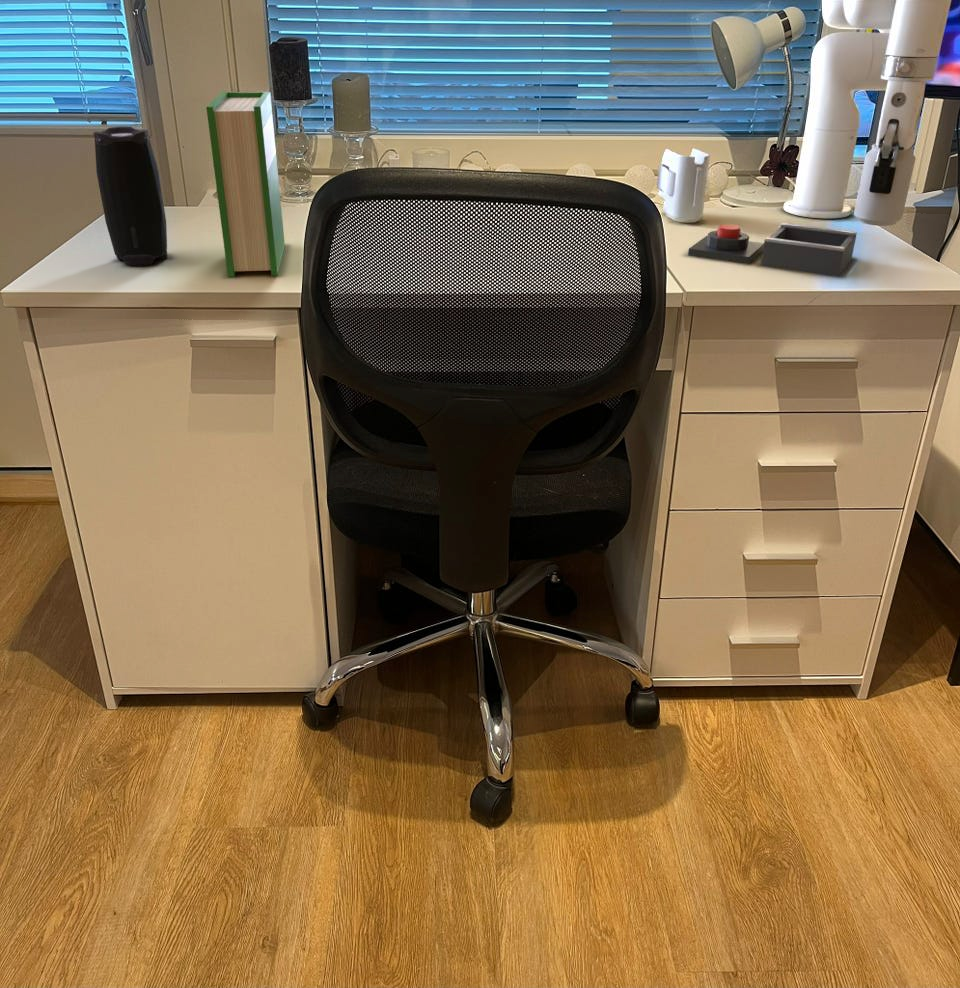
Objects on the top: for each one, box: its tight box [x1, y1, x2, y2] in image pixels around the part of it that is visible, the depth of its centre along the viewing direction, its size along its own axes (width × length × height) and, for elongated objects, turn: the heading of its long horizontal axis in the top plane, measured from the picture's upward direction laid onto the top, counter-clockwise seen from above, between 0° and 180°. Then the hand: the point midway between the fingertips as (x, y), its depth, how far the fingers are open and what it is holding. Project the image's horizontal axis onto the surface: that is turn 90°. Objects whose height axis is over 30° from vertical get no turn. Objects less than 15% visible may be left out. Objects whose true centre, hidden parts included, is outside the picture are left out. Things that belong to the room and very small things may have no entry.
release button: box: [717, 223, 742, 238], centre depth 154 cm, size 4×4×2 cm
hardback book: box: [205, 91, 286, 278], centre depth 144 cm, size 18×7×24 cm, turn 7°
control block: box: [687, 229, 764, 265], centre depth 155 cm, size 10×10×3 cm
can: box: [853, 143, 916, 227], centre depth 151 cm, size 8×8×12 cm
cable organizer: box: [656, 147, 711, 224], centre depth 174 cm, size 7×12×12 cm, turn 12°
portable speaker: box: [93, 125, 168, 267], centre depth 144 cm, size 9×9×20 cm
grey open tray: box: [760, 222, 858, 278], centre depth 150 cm, size 12×12×4 cm
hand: (883, 187), depth 151 cm, fingers closed on can, 7 cm apart
